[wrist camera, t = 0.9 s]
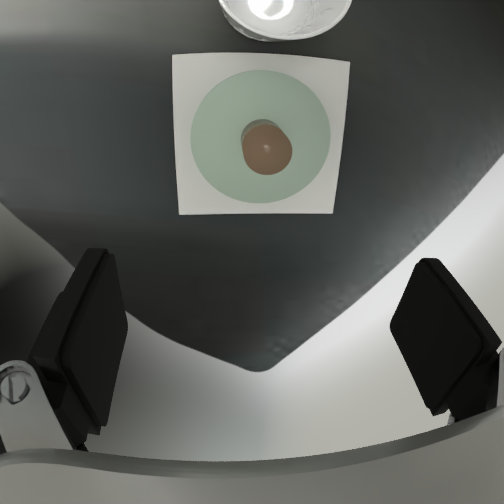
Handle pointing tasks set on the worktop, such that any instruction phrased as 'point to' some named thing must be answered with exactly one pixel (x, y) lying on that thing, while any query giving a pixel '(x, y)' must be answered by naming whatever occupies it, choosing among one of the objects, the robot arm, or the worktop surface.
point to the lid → (260, 136)
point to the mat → (228, 64)
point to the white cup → (283, 17)
